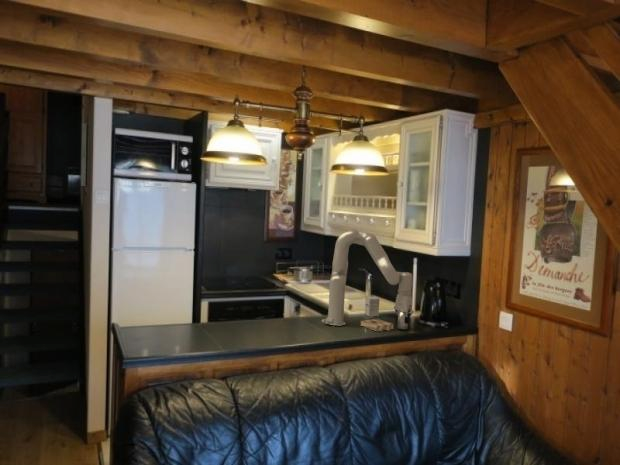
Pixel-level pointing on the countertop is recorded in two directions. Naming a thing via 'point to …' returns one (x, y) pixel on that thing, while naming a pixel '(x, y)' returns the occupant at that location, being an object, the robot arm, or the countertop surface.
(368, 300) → the supplement box
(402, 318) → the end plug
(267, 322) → the countertop surface
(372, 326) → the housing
